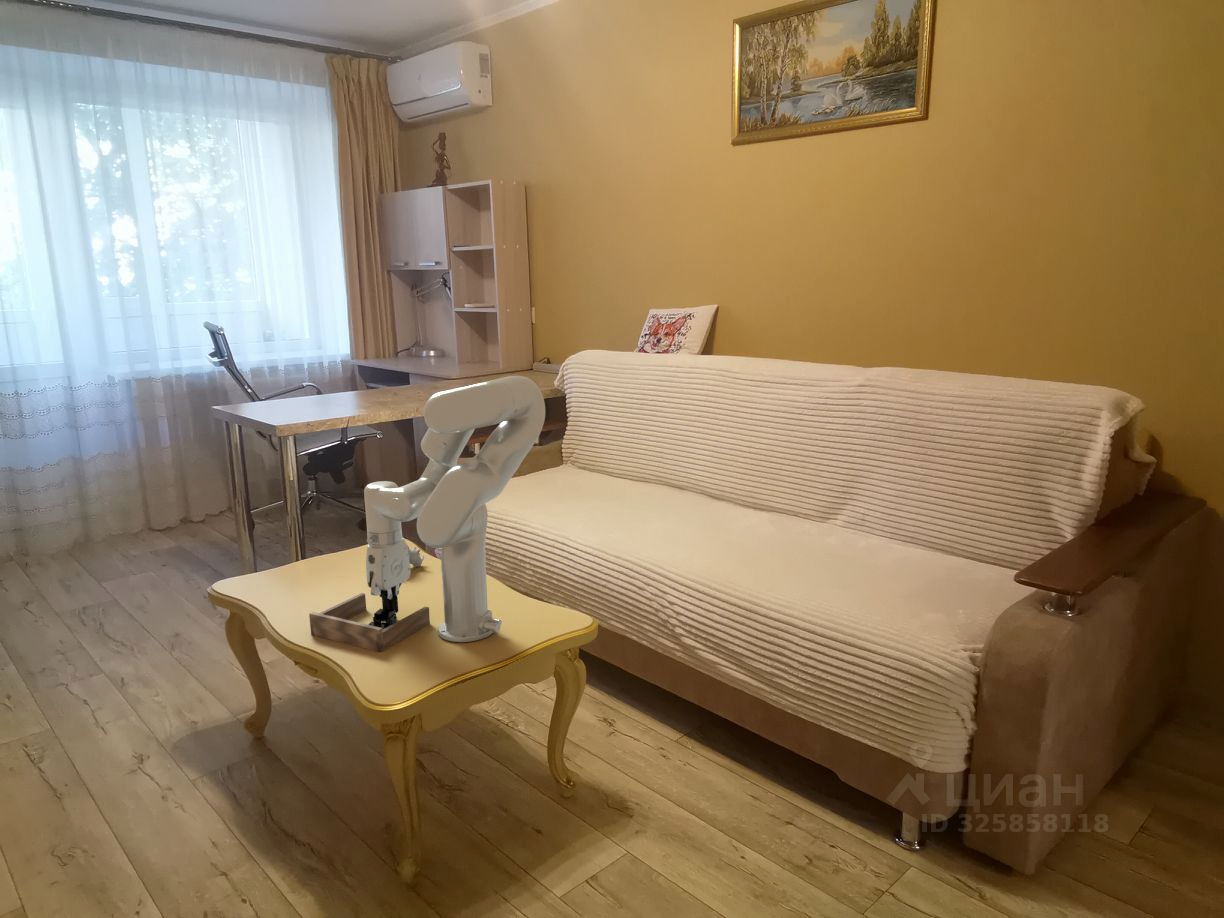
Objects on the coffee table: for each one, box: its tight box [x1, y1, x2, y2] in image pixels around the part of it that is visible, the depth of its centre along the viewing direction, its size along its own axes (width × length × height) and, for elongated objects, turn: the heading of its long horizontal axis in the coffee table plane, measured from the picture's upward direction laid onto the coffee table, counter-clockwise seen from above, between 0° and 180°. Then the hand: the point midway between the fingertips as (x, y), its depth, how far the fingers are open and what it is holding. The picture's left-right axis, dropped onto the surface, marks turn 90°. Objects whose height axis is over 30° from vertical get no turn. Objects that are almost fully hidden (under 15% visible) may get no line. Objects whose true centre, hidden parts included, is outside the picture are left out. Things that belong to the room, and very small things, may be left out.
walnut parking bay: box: [308, 592, 431, 653], centre depth 179 cm, size 20×16×5 cm
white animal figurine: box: [406, 543, 425, 568], centre depth 217 cm, size 7×12×8 cm, turn 124°
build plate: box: [367, 608, 398, 630], centre depth 180 cm, size 12×7×5 cm, turn 78°
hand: (390, 612), depth 185 cm, fingers closed
